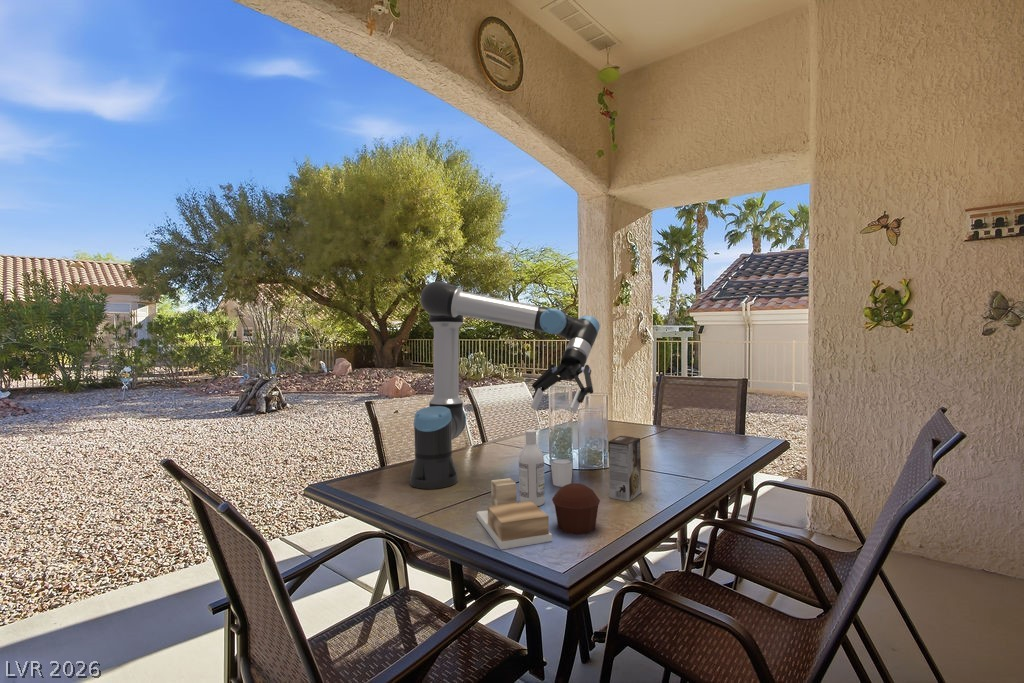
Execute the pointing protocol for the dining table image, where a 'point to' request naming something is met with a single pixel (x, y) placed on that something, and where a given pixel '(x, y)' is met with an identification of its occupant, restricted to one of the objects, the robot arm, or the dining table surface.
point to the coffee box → (624, 468)
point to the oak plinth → (518, 520)
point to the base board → (483, 519)
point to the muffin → (576, 509)
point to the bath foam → (531, 471)
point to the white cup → (561, 472)
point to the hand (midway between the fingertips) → (552, 409)
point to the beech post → (503, 492)
